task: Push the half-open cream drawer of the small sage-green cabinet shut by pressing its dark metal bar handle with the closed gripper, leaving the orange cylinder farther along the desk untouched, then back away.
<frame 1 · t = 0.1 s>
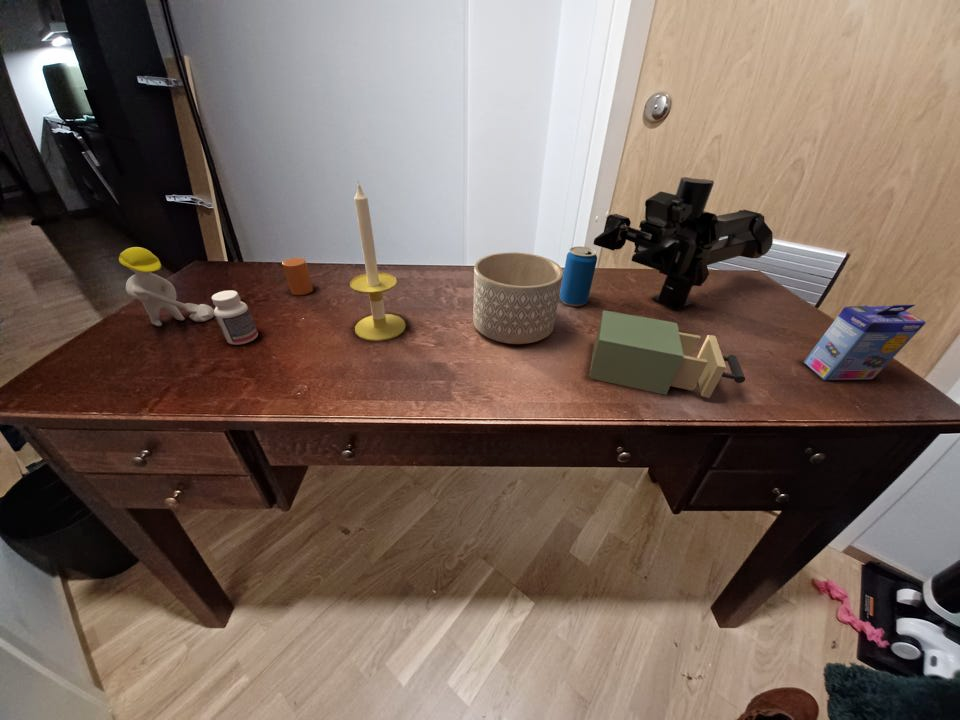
hand: (612, 249, 66), 17 cm above the table, tool horizontal, fingers open, 9 cm apart
orange cylinder: (302, 290, 85), on the table
ink cartridge box: (837, 372, 66), on the table
beverage can: (572, 302, 85), on the table
figurine: (183, 322, 73), on the table
planter: (512, 327, 75), on the table
drawer: (687, 361, 60), point 4 cm above the table, slide at 5.0 cm
candle: (380, 328, 74), on the table
pill bottle: (243, 338, 69), on the table
cabinet: (626, 368, 65), on the table
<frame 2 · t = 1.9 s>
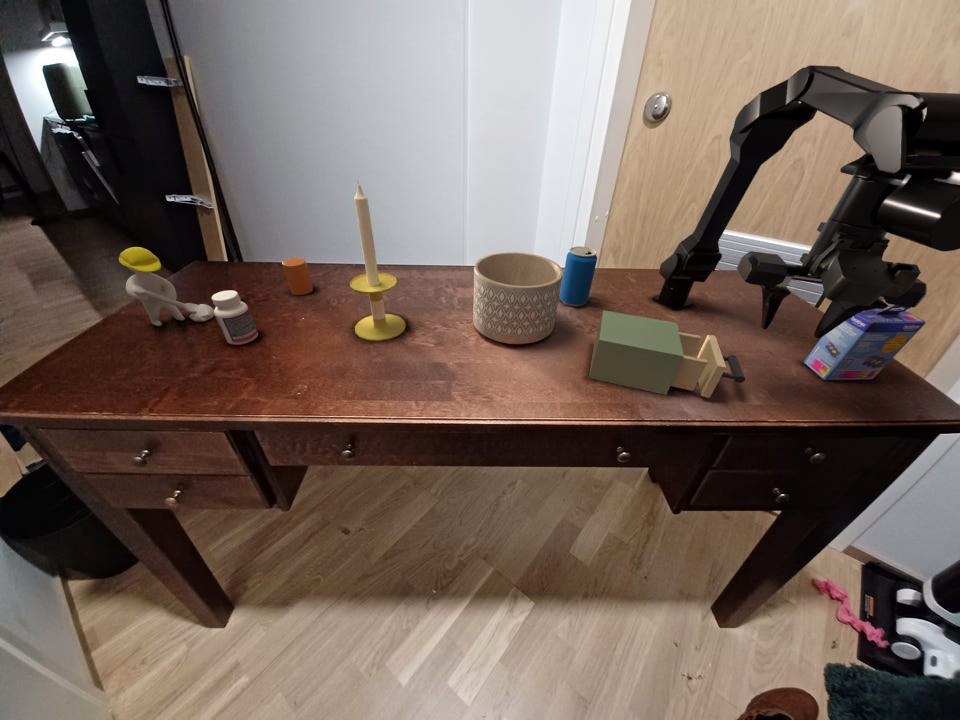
hand: (789, 332, 53), 12 cm above the table, tool pointing down, fingers open, 6 cm apart
nothing on the table moved.
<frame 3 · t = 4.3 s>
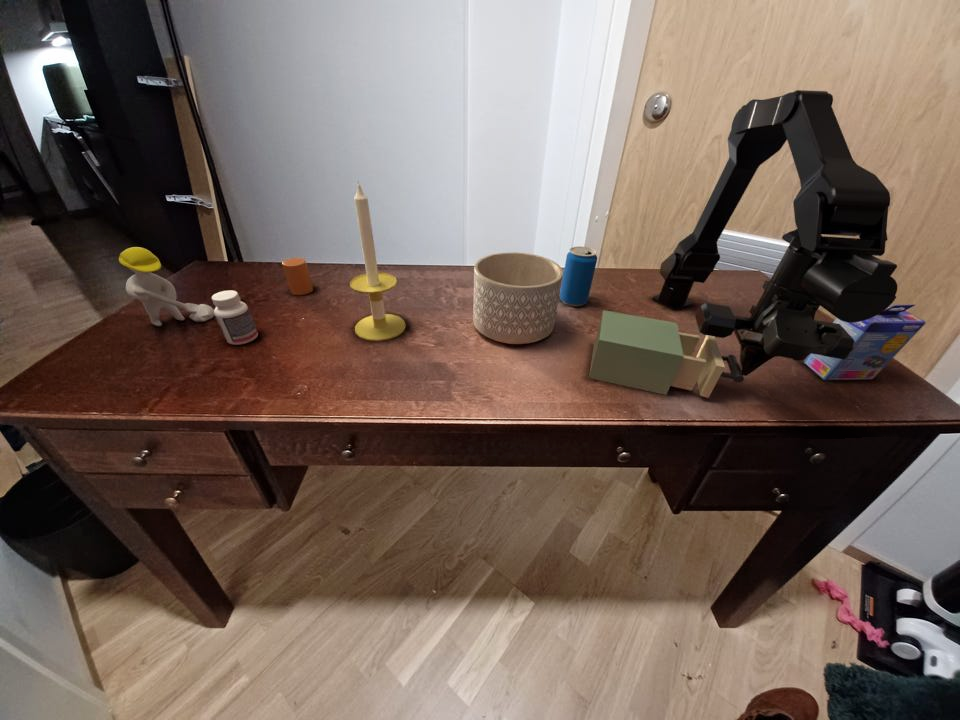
hand: (742, 374, 59), 4 cm above the table, tool pointing down, fingers closed
drawer: (686, 361, 60), point 4 cm above the table, slide at 4.8 cm, touching gripper
everything else where it was.
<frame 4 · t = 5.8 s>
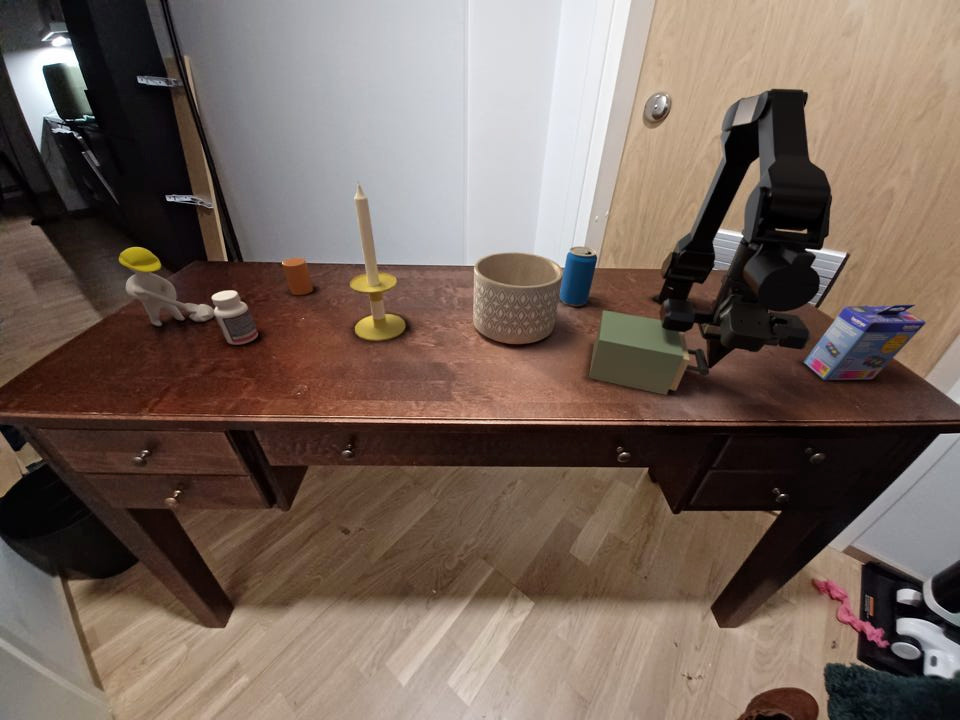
hand: (708, 367, 60), 4 cm above the table, tool pointing down, fingers closed
drawer: (655, 354, 62), point 4 cm above the table, slide at 0.0 cm, touching cabinet, gripper
everything else where it was.
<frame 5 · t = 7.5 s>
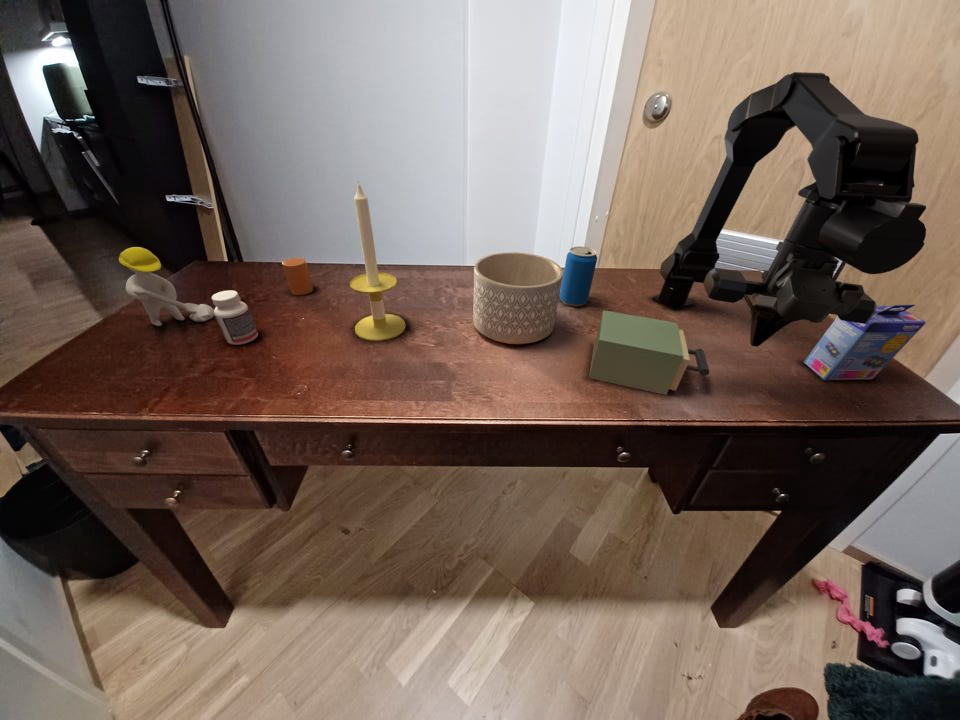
hand: (753, 344, 55), 9 cm above the table, tool pointing down, fingers closed
drawer: (655, 354, 62), point 4 cm above the table, slide at 0.0 cm
everything else where it was.
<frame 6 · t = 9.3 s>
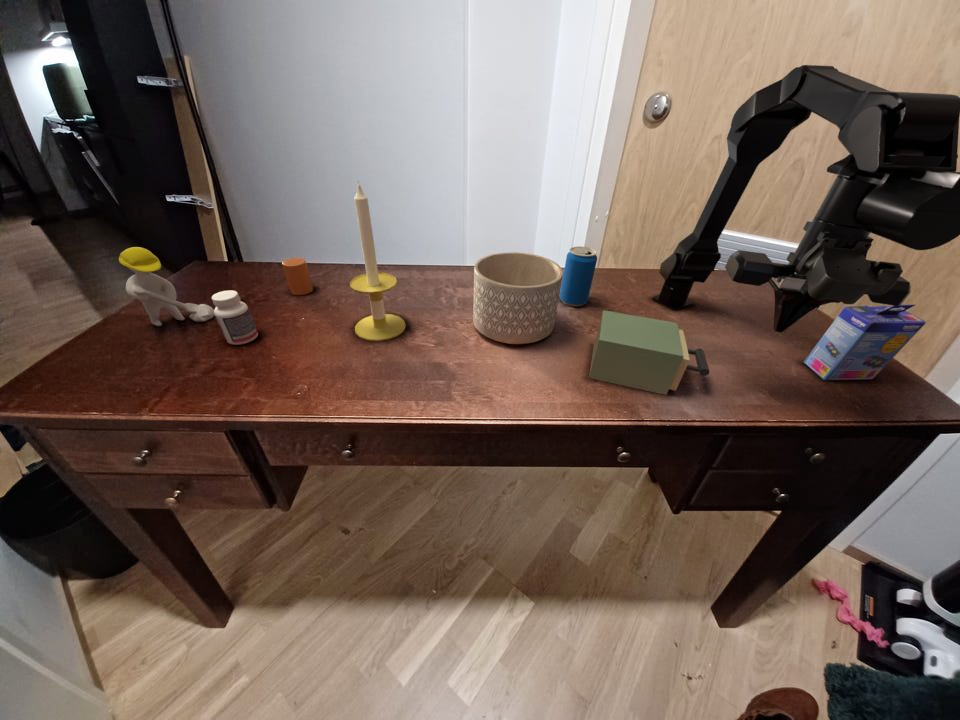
hand: (777, 330, 53), 12 cm above the table, tool pointing down, fingers closed
nothing on the table moved.
at the end: drawer slide at 0.0 cm; orange cylinder moved 0.0 cm from its start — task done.
